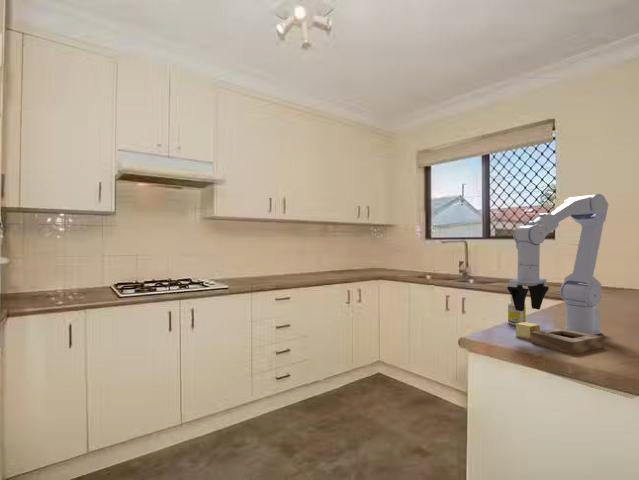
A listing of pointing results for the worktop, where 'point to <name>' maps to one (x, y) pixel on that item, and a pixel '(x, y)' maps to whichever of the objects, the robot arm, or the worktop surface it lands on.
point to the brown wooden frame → (567, 340)
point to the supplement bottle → (515, 314)
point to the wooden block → (526, 329)
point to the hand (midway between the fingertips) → (527, 309)
